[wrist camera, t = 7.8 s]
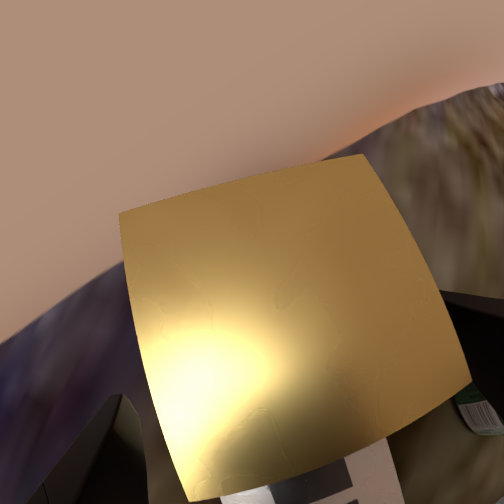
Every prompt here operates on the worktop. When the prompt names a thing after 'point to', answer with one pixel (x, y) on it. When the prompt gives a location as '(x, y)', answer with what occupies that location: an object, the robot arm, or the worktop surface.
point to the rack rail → (335, 482)
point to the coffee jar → (478, 412)
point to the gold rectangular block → (284, 323)
